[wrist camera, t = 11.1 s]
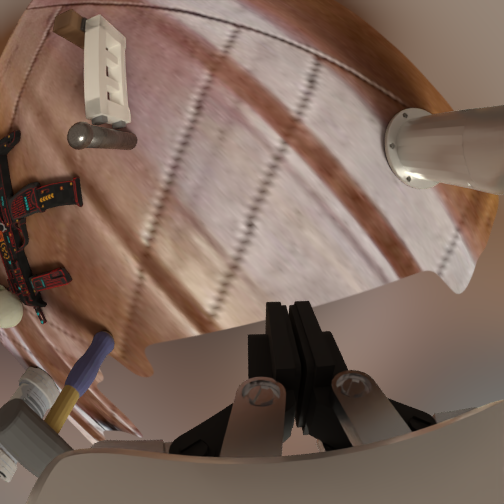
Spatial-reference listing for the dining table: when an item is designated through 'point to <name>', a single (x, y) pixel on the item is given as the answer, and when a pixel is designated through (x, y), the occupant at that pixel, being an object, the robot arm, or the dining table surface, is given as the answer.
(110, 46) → the gate
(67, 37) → the post
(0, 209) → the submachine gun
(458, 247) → the dining table surface
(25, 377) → the canister
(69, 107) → the dining table surface
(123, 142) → the hinge post
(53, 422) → the rubber mallet
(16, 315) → the figurine
